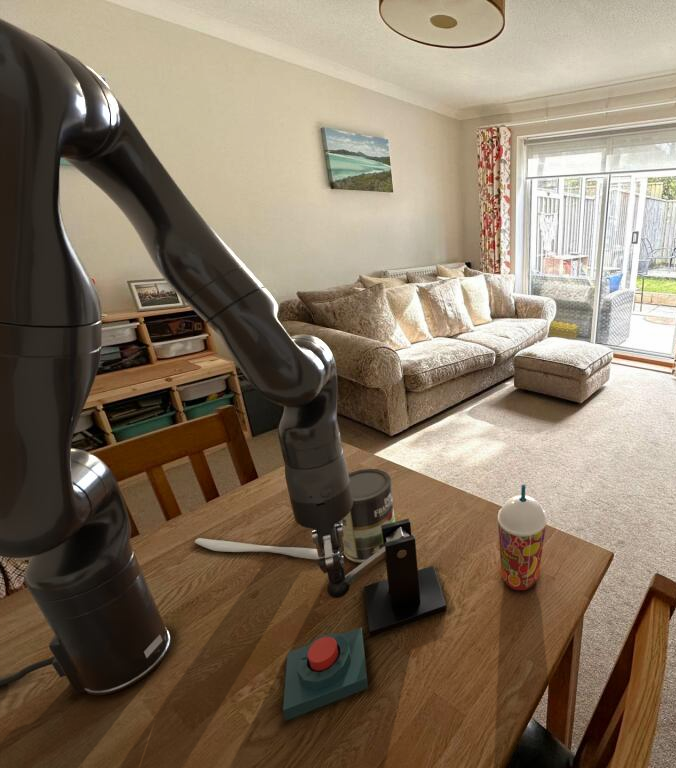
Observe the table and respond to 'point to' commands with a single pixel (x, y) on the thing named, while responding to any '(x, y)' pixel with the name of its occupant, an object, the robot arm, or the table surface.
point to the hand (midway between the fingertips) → (337, 578)
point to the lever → (362, 567)
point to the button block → (324, 675)
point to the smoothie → (521, 540)
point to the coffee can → (367, 513)
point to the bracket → (402, 586)
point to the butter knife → (256, 548)
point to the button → (323, 653)
